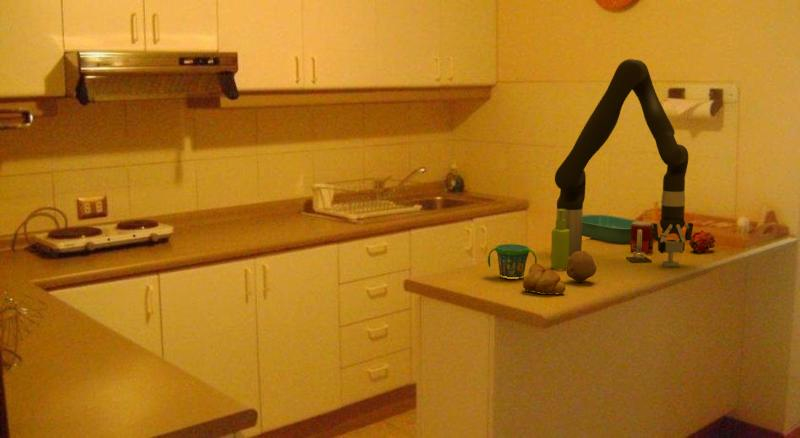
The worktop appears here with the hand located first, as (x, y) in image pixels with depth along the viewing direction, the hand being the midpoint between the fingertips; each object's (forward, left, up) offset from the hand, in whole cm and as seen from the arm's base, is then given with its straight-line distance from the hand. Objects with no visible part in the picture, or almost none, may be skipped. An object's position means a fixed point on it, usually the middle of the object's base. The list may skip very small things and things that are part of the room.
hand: (671, 252), depth 289 cm
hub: (0, 0, -5) cm, 5 cm away
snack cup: (-57, -14, -5) cm, 59 cm away
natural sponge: (-37, -22, -5) cm, 43 cm away
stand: (-8, +9, -5) cm, 13 cm away
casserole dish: (-4, +56, -5) cm, 57 cm away
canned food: (-2, +24, -5) cm, 25 cm away
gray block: (0, 0, +1) cm, 1 cm away
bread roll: (-51, -34, -5) cm, 62 cm away
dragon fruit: (+20, +23, -5) cm, 31 cm away
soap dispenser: (-38, 0, -5) cm, 38 cm away
